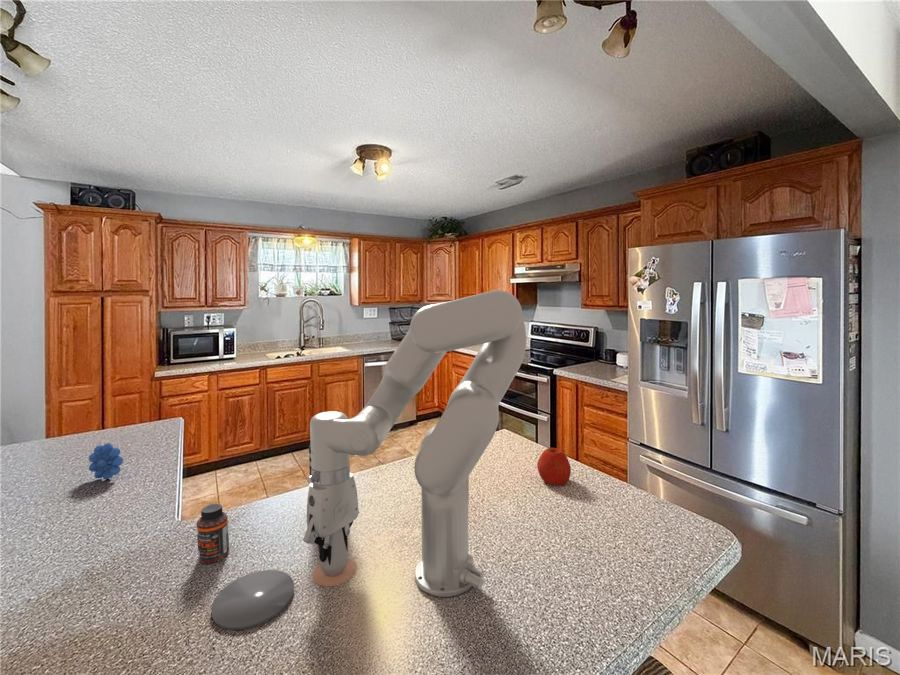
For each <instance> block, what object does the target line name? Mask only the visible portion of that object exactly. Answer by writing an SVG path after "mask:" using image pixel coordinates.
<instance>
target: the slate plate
mask: <svg viewBox="0 0 900 675" xmlns="http://www.w3.org/2000/svg"><path fill="white" fill-rule="evenodd" d="M294 594H295V583H294V580H293V578H292V576H291V575H289V574H288V573H287V572H284V571H281V570H278V569H277V570H276V569H265V570H257V571H254V572H250V573H248V574H245V575H243V576H240V577H238V578H237V579H234V580H233V581H231V582H230V583H229V584H227V585H226V586H225V587H224V588H222V590H220V591H219V592H218V594H217V595H216V596H215V598H214V599H213V602H212V605H211V618H212V620H213V622H214V624H215V625H217V626H218V627H219V628H222V629H224V630H228V631H229V630H230V631H238V630H239V631H240V630H246V629H251V628H255V627H258V626H260V625H262V624H265V623H266V622H268V621H271V620H272V619H274V618H275V617H277V616H278V615H279V614H281V613H282V612H283V611H285V609H286V608H287V607H288V605H289V604H290V603H291V601H292V599H293V597H294Z"/></svg>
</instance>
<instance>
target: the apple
mask: <svg viewBox="0 0 900 675" xmlns="http://www.w3.org/2000/svg"><path fill="white" fill-rule="evenodd" d="M536 465H537V466H536V468H537V471H538V474H539V476H540V478H541V479H542V481H543V482H545V483H546V484H548V485H552V486H564V485H566V484H567V483H568V482H570V478H571V475H572V474H571V473H572V472H571V469H572V468H571V463H570V461H569V459H568V457H567V455H566V454H565V452H564V451H563V450H562V449H561V448H557V447H548V448H546V449H544V450H543V451H542V453H541V454H540V456H539V458H538V460H537V463H536Z"/></svg>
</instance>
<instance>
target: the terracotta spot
mask: <svg viewBox="0 0 900 675" xmlns="http://www.w3.org/2000/svg"><path fill="white" fill-rule="evenodd" d="M357 566H358V565H357V563H356V561H355V560H354V559H352V558H350V557H348V562H347V564H346V566H345V568H344V570H343V573H342V574H340V575H337V576H335V577H331V576H326V575H325V573H324V571H323V569H322V568H321V566H320V562H319V563H318V564H317V565H315V567H314V568H313V569H312V572H311V578H312V580H313V582H314V583H316V584H317V585H319V586H323V587H335V586H338V585H341V584H344V583H346V582H348V581H349V580H351V579H352V578H353V577H354V575H355V574H356V572H357V568H358V567H357Z"/></svg>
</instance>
